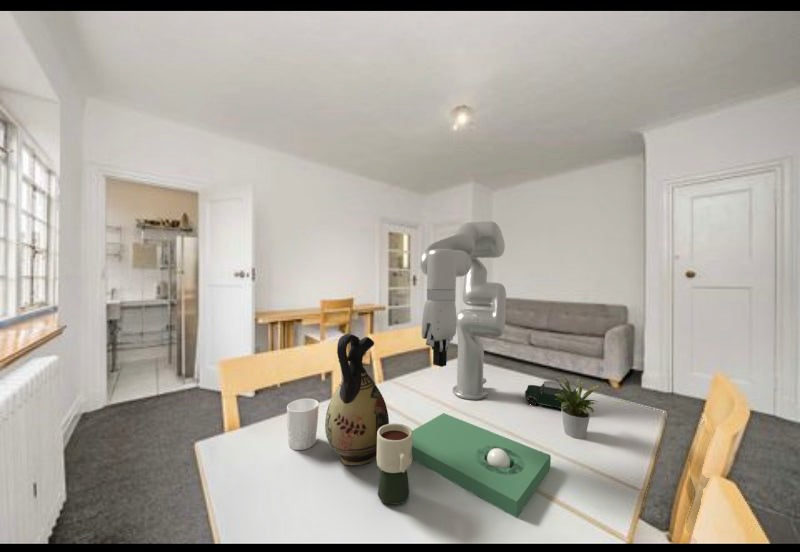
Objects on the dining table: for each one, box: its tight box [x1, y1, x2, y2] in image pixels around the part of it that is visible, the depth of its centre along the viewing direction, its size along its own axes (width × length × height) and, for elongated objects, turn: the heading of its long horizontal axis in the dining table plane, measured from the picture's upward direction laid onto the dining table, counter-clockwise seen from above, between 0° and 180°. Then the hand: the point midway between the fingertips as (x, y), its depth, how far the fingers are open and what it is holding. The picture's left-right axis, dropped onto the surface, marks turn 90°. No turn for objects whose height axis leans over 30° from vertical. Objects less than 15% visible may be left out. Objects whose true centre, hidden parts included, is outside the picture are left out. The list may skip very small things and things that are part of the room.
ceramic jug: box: [324, 333, 390, 466], centre depth 74 cm, size 17×15×30 cm
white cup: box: [286, 398, 320, 451], centre depth 79 cm, size 8×8×10 cm
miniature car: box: [524, 380, 582, 409], centre depth 105 cm, size 9×18×8 cm, turn 59°
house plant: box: [547, 374, 602, 440], centre depth 87 cm, size 14×14×16 cm
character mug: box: [376, 423, 413, 505], centre depth 61 cm, size 11×7×13 cm, turn 20°
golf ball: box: [487, 448, 510, 469], centre depth 69 cm, size 5×5×5 cm
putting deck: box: [412, 412, 552, 519], centre depth 73 cm, size 30×20×3 cm, turn 47°
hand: (439, 365), depth 80 cm, fingers closed
